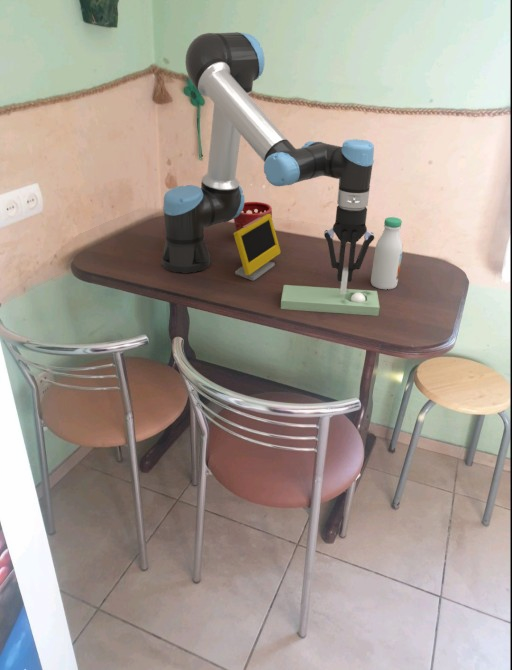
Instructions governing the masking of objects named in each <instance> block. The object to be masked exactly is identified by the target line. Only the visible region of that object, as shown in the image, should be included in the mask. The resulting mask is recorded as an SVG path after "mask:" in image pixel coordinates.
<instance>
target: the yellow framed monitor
mask: <svg viewBox="0 0 512 670" xmlns="http://www.w3.org/2000/svg"><path fill="white" fill-rule="evenodd" d="M272 217H273V216H272ZM272 217H271V214H267V215H265V216H263V217H259V218H257V219H255V220H254V221H252V222H250V223H248V224H246V225H245V226H243V228H242V229H240V230H238V231H237V230H236V231H235V232H233V236H234V241H235V243H236V247H237V250H238V254H239V257H240V261H241V264H242V266H240V267H239V268H237V269H236V270H235V271H234V274H235V275H237V276H239V277H242V278H244V279H247V280H250V281H252V282H254V281H256V280H257V279H258V278H259V277H261V276H262V275H263V274H265V273H266V272H268V271H269V270H270V269H272V268H273V267H275V265H276V264H275V262H273V261H271V260H273V259H275V257H277V256H279V255H280V254H281V248H280V244H279V240H278V237H277V234H276V230H275V225H274V222H273V218H272Z"/></svg>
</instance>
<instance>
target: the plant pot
mask: <svg viewBox="0 0 512 670" xmlns="http://www.w3.org/2000/svg"><path fill="white" fill-rule="evenodd" d="M255 210H257V212H255ZM248 211H250V212H251V213H248ZM267 214H271V217H273V208H272V206H271V205H270V204H268V203H265V202H260V201H244V207H243V210H242V212H241V213H240V215H239V216H238V217H236V218H234V219H233V220H234V221H233V222H234V227H235V230H236V232H237V231H238V230H240V229H242V228H243V226H245V225H246V224H248V223H250V222H252V221H254V220H255V219H257V218H259V217H263V216H265V215H267Z"/></svg>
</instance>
